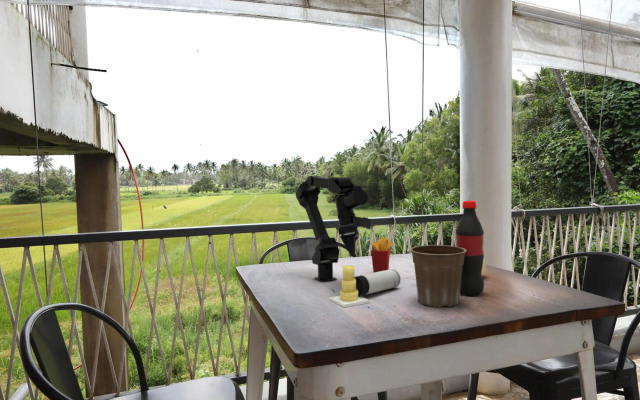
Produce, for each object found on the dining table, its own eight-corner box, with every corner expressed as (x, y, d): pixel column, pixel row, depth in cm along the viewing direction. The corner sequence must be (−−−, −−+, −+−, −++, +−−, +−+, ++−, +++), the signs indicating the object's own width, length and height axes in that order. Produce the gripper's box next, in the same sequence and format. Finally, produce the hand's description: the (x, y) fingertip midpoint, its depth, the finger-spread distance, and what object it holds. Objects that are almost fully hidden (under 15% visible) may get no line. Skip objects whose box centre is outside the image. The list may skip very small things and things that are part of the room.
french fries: (370, 275, 164) (370, 237, 163) (375, 271, 171) (374, 234, 171) (393, 277, 161) (392, 238, 160) (396, 272, 168) (396, 235, 168)
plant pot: (459, 313, 116) (458, 255, 115) (403, 305, 124) (402, 251, 123) (472, 298, 129) (471, 246, 129) (421, 292, 138) (420, 243, 137)
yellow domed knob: (336, 299, 129) (335, 267, 129) (347, 295, 133) (347, 264, 133) (350, 302, 125) (349, 269, 125) (361, 298, 129) (361, 266, 129)
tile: (329, 300, 131) (329, 297, 131) (354, 296, 135) (354, 293, 135) (343, 307, 123) (343, 304, 123) (369, 302, 127) (369, 300, 127)
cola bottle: (483, 291, 138) (483, 199, 136) (484, 298, 130) (484, 201, 128) (456, 289, 140) (455, 200, 139) (456, 296, 132) (455, 201, 131)
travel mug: (404, 283, 142) (366, 292, 128) (390, 289, 146) (352, 299, 132) (397, 266, 144) (359, 273, 130) (383, 272, 148) (345, 280, 134)
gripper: (368, 203, 136) (377, 251, 133) (368, 211, 154) (376, 253, 151) (334, 209, 137) (342, 257, 134) (338, 216, 155) (346, 258, 152)
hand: (353, 256), depth 143 cm, fingers open, 9 cm apart
